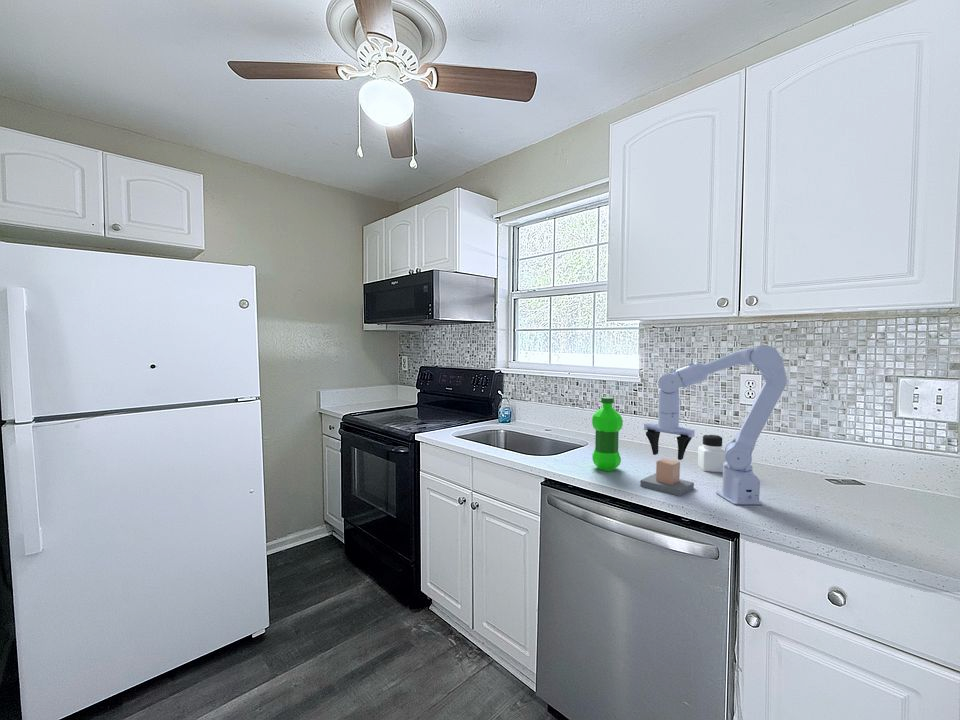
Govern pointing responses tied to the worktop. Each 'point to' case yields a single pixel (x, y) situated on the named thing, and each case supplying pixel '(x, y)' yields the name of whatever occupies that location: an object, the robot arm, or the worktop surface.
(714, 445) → the medicine bottle
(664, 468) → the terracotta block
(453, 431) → the worktop surface
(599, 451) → the plastic bottle
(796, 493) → the worktop surface
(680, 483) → the charcoal base
